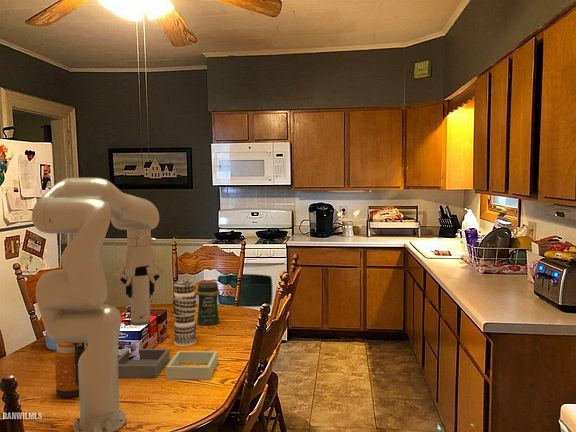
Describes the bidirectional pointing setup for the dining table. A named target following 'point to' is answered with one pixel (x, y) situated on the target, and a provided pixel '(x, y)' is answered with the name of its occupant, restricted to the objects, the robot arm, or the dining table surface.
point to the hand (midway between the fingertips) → (140, 295)
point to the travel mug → (140, 297)
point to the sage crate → (192, 371)
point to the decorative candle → (184, 313)
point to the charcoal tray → (143, 363)
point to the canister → (68, 368)
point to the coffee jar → (208, 303)
